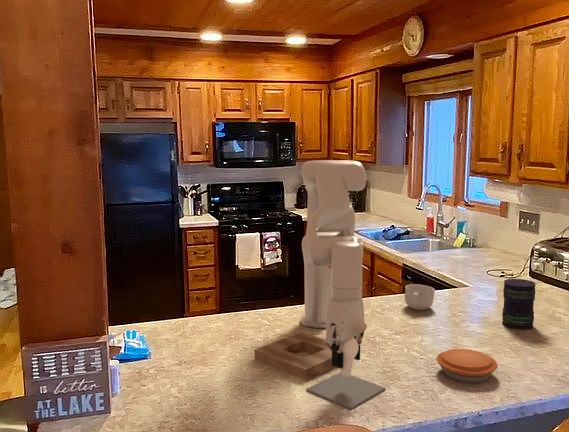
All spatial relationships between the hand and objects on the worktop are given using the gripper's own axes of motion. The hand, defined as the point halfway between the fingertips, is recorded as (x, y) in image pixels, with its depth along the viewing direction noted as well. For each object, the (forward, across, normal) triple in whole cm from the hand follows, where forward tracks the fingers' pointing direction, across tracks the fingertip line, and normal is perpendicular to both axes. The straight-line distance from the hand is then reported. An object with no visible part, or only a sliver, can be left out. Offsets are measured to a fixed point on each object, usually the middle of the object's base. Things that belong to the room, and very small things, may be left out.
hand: (346, 362), depth 130 cm
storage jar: (+8, -78, +12) cm, 79 cm away
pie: (+8, -30, +17) cm, 35 cm away
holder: (+7, -7, -21) cm, 23 cm away
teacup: (+8, -71, -22) cm, 75 cm away
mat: (+7, 0, 0) cm, 7 cm away
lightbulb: (+4, 0, 0) cm, 4 cm away
